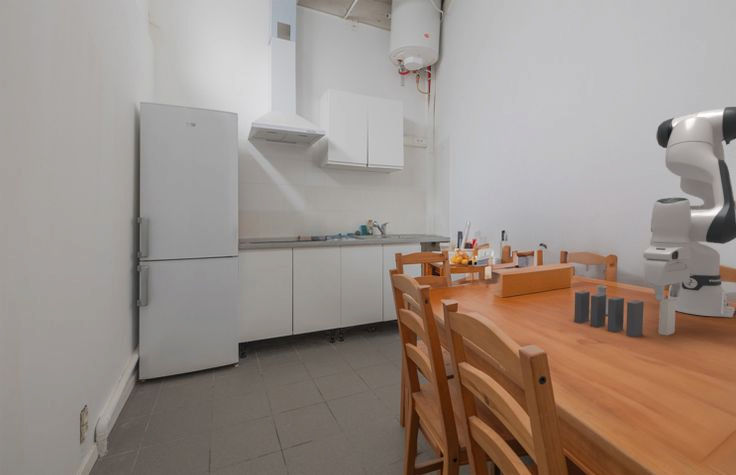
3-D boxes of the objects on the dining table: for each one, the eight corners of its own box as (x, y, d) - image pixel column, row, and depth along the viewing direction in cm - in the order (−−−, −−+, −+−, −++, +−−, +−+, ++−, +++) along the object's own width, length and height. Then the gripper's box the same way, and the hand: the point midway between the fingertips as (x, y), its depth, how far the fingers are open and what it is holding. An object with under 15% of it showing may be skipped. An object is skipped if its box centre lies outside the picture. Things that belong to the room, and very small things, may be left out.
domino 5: (658, 333, 99) (659, 300, 98) (666, 330, 101) (667, 298, 101) (666, 335, 97) (668, 302, 96) (674, 332, 99) (675, 300, 99)
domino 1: (574, 321, 111) (575, 292, 110) (582, 319, 113) (583, 290, 113) (580, 323, 109) (581, 293, 108) (588, 321, 111) (589, 291, 111)
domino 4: (626, 335, 98) (627, 302, 97) (634, 332, 100) (635, 300, 99) (634, 337, 96) (635, 303, 95) (642, 334, 98) (643, 301, 98)
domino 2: (590, 326, 106) (591, 295, 106) (598, 323, 109) (599, 293, 108) (596, 327, 105) (597, 296, 104) (605, 325, 107) (606, 294, 106)
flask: (617, 316, 116) (618, 288, 116) (594, 315, 118) (595, 288, 117) (606, 311, 123) (607, 284, 123) (585, 310, 125) (586, 284, 124)
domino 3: (607, 330, 102) (608, 298, 101) (615, 327, 104) (616, 296, 104) (614, 332, 100) (615, 300, 100) (623, 329, 103) (624, 298, 102)
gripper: (671, 250, 105) (669, 293, 106) (640, 252, 96) (638, 299, 96) (697, 251, 100) (695, 297, 100) (667, 254, 90) (665, 304, 91)
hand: (667, 298), depth 98 cm, fingers open, 8 cm apart
